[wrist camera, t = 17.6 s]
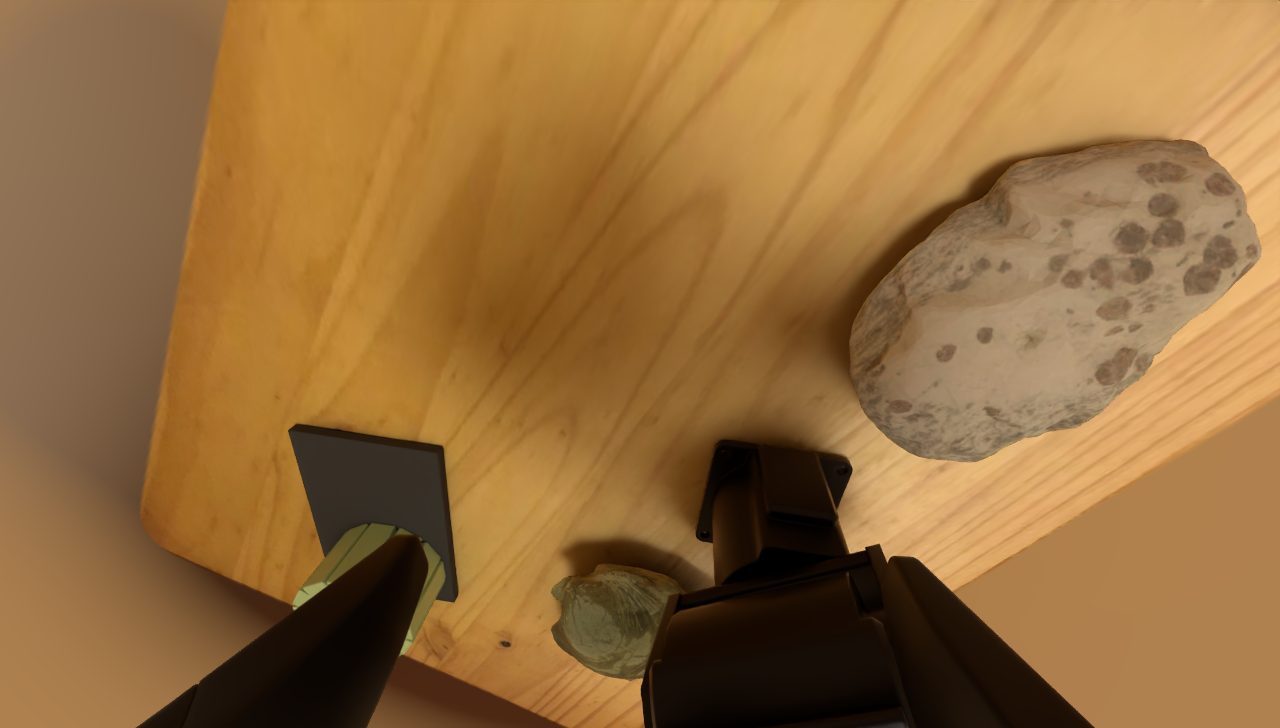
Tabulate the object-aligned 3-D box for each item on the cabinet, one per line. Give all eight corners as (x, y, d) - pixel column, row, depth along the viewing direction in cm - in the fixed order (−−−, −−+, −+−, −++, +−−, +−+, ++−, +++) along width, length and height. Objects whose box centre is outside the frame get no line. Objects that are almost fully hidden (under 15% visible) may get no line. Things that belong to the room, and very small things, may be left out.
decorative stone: (1035, 446, 22) (1118, 531, 18) (802, 390, 22) (829, 462, 18) (1257, 160, 16) (1462, 183, 12) (942, 80, 16) (1033, 74, 12)
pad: (458, 594, 32) (454, 603, 31) (337, 574, 32) (331, 582, 31) (443, 446, 26) (437, 453, 25) (295, 423, 26) (287, 430, 26)
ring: (451, 603, 31) (419, 667, 28) (353, 589, 31) (310, 651, 28) (438, 530, 28) (401, 592, 25) (330, 516, 28) (278, 575, 25)
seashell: (629, 704, 32) (539, 786, 23) (579, 597, 35) (482, 633, 27) (756, 624, 30) (709, 680, 21) (690, 518, 33) (626, 528, 25)
